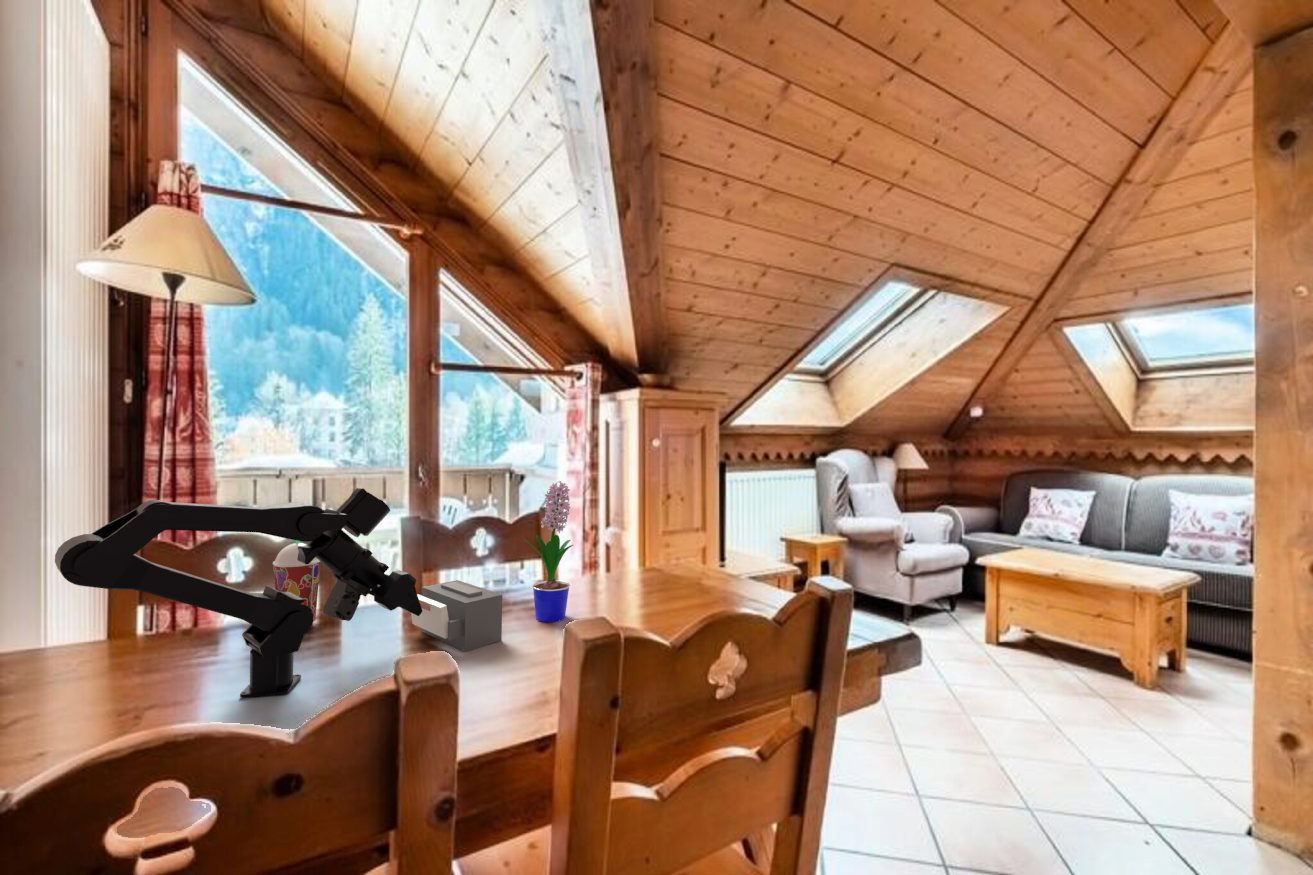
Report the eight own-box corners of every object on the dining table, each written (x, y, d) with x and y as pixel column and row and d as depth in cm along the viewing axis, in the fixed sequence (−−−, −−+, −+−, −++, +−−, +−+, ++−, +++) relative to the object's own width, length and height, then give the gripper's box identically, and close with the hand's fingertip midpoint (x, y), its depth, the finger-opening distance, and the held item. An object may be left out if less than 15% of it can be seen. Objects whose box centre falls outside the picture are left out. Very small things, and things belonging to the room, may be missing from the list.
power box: (452, 655, 108) (453, 602, 108) (409, 634, 119) (409, 586, 119) (501, 640, 116) (502, 591, 116) (456, 622, 127) (457, 577, 127)
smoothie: (328, 622, 125) (330, 527, 125) (301, 636, 117) (302, 533, 117) (291, 620, 126) (292, 525, 126) (261, 633, 118) (262, 532, 117)
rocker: (443, 639, 109) (439, 608, 108) (411, 624, 117) (406, 595, 116) (451, 636, 110) (446, 605, 110) (418, 621, 118) (413, 592, 117)
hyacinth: (521, 613, 134) (523, 479, 133) (567, 610, 137) (569, 479, 137) (524, 626, 125) (527, 483, 125) (573, 622, 128) (576, 482, 128)
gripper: (288, 587, 103) (353, 634, 112) (332, 609, 91) (401, 661, 100) (336, 536, 109) (395, 585, 118) (384, 550, 97) (445, 604, 106)
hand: (407, 608), depth 110 cm, fingers open, 9 cm apart
